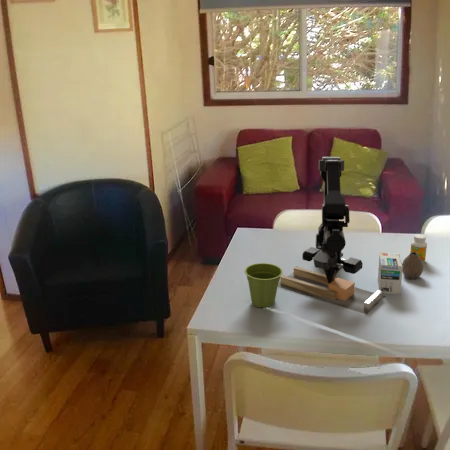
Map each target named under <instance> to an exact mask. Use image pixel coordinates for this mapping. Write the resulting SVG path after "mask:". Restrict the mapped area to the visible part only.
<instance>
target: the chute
mask: <svg viewBox="0 0 450 450" xmlns="http://www.w3.org/2000/svg"><path fill="white" fill-rule="evenodd" d="M337 278H338V277H335V279H337ZM335 279H334V280H335ZM278 287H280V288H282V289H285V290H289V291H292V292H295V293H299V294H301V295H304V296H308V297H310V298H314V299H317V300H321V301H324V302H327V303H330V304H333V305H336V306H339V307H343V308H346V309H349V310H352V311H354V312H358V313H362V314H364V315H368V314H369V313H370V312H372V310H374V309H375V307H377V306H378V304H380V302H382V301H383V300H384V299H385V298H386V296H385V295H383V294H382V298H381V299H380V300H379V301H378V302H377V303H376V304H375V305H374V306H373V307H372V308H371V309H370V310H369V311H366V310H364V302H365V301H366V300H367V299H369V298H370V297H371V296H372V295H373V294H374V293H375V292H372V291H369V290H366V289H362V288H359V287H355V286H354V294H353V295H352V296H350V297H349V298H348V299H347V300H346V301H344V300H341V299H338V298H336V294H337V291H333V290H330V289H329V283H328V280H327V277H326V274H325V273H324V274H323V273H321V272H316V271H312V270H309V269H306V268H303V267H299V266H295V267H294V268H293V272H292V273H290V274H288V275H287V276H286V275H283V274H282V275H281V276H280V280H279V283H278Z"/></svg>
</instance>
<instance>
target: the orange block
mask: <svg viewBox="0 0 450 450" xmlns="http://www.w3.org/2000/svg"><path fill="white" fill-rule="evenodd" d="M336 278H337V279H335V280H334V281H332V282H331V283H330V284H329V289H330V290H333V291H337V294H336V298H338V299H341V300H344V301H346V300H347V299H348V298H349V297H350V296H352V295H353V294H354V287H355V284H356V283H355V281H351V280H347V279H344V278H340V277H336Z"/></svg>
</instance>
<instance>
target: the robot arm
mask: <svg viewBox="0 0 450 450" xmlns="http://www.w3.org/2000/svg"><path fill="white" fill-rule="evenodd" d="M321 158H322V159H318V171H319V173H320V176H321V178H322V180H323V182H324V183H323V184H324V186H323V204H321V223H320V225H319V227H318V229H317V231H318V232H317V233H316V234H315V247H313V246H310V247H309V248H307V249H306V250H304V251H303V252H302V257H301V258H302V261H305V262H312V261H313V265H314V267H315V268H318V269H322V270H323V272H324V275H326V277H327V280H328V283H329V284H330V283H331V282H332V281H334V279H335V278H337V277H336V276H337V275H338V273H339V271H340V270H343V271H344V272H345V273H348V274H353V275H355V274H357V273H358V272H360V270H362V268H363V262H362V259H358V258H355V257H350V258H348V259H345V258H343V257H344V253H343V251H342V250H344V248H345V247H346V238H345V233H344V228H348V225H349V224H350V222H351V221H350V208H349V205H348V204H346V198H345V196H344V195H343V194H342V193H341V192H342V191H341V177H342V172H345V160H343V159H341V157H340V156H322V157H321Z"/></svg>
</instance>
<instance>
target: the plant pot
mask: <svg viewBox="0 0 450 450" xmlns="http://www.w3.org/2000/svg"><path fill="white" fill-rule="evenodd" d="M244 274H245V276H246V278H247V279H246V280H247V282H248V287H249V293H250V300H251V304H252V305H253V306H255V307H257V308H263V309H264V308H265V309H267V308H270V307H271V305H273V304H275V301H276V297H277V291H278V287H279V286H278V283H279V282H280V278H281V276H283V269H282V268H281V267H280V266H278V265H276V264H273V263H268V262H260V263H253V264H249V265H248V266H246V267H245V269H244Z"/></svg>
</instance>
